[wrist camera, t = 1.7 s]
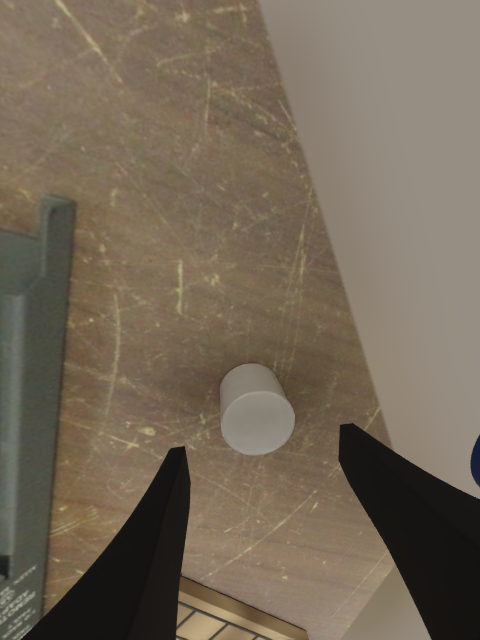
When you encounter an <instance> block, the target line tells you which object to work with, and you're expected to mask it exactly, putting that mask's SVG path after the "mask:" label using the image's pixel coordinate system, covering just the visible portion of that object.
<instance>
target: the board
mask: <svg viewBox="0 0 480 640" xmlns="http://www.w3.org/2000/svg"><path fill="white" fill-rule="evenodd" d="M176 640H309V639H308V635H307V632H306V631H304V630H302V629H300V628H297V627H295V626H293V625H291V624H288V623H286V622H284V621H281V620H279V619H277V618H275V617H272V616H270V615H268V614H266V613H263V612H261V611H259V610H256V609H254V608H252V607H250V606H247V605H245V604H243V603H241V602H238V601H236V600H234V599H232V598H229V597H227V596H225V595H222V594H220V593H218V592H216V591H213V590H211V589H209V588H207V587H204V586H202V585H200V584H197V583H195V582H193V581H191V580H188V579H186V578H184V577H182V576H180V585H179V598H178V614H177V631H176Z"/></svg>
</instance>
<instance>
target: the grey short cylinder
mask: <svg viewBox="0 0 480 640" xmlns="http://www.w3.org/2000/svg"><path fill="white" fill-rule="evenodd" d="M219 399H220V419H221V432H222V435H223V438H224V439H225V441H226V442H227V444H228V445H229V446H230V447H231V448H233V449H234V450H236V451H237V452H240V453H242V454H246V455H263V454H267V453H270V452H273V451H275V450H276V449H278V448H280V447H281V446H282V445H283V444H284V443H285V442H286V441H287V440H288V439H289V438H290V436H291V434H292V432H293V429H294V426H295V414H294V410H293V408H292V406H291V404H290V402H289V400H288V398H287V396H286V394H285V392H284V390H283V388H282V386H281V384H280V382H279V380H278V378H277V376H276V375H275V373H274V372H273V371H272V370H271V369H269V368H268V367H266V366H264V365H261V364H256V363H248V364H243V365H240V366H237V367H235V368H234V369H232V370H231V371H229V372H228V373H227V374H226V376H225V377H224V378H223V380H222V382H221V385H220V389H219Z"/></svg>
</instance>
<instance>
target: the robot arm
mask: <svg viewBox="0 0 480 640" xmlns="http://www.w3.org/2000/svg"><path fill="white" fill-rule="evenodd" d="M339 462H340V465H341V467H342V469H343V471H344V474H345V476H346V478H347V480H348V482H349V484H350V486H351V487H352V489H353V491H354V493H355V494H356V496H357V498H358V499H359V501H360V503H361V504H362V506H363V508H364V509H365V511H366V512H367V514H368V516H369V517H370V519H371V521H372V522H373V524H374V526H375V527H376V529H377V531H378V532H379V534H380V536H381V537H382V539H383V541H384V543H385V544H386V546H387V548H388V550H389V552H390V554H391V556H392V558H393V560H394V562H395V564H396V566H397V568H398V570H399V572H400V574H401V576H402V578H403V580H404V582H405V584H406V586H407V588H408V590H409V592H410V594H411V596H412V598H413V600H414V603H415V605H416V607H417V609H418V611H419V613H420V615H421V617H422V619H423V622H424V624H425V626H426V628H427V630H428V633H429V635H430V637H431V639H432V640H480V499H478V498H476V497H473V496H471V495H469V494H467V493H465V492H463V491H461V490H459V489H457V488H455V487H453V486H451V485H449V484H448V483H446V482H444V481H442V480H440V479H438V478H436V477H435V476H433V475H431V474H429V473H428V472H426V471H424V470H423V469H421V468H419V467H418V466H416V465H414V464H413V463H411V462H409V461H408V460H406V459H405V458H403V457H402V456H400V455H398V454H397V453H395V452H394V451H392V450H391V449H389V448H388V447H386V446H385V445H384V444H382V443H381V442H379V441H378V440H376V439H375V438H373V437H372V436H371V435H369V434H368V433H366V432H365V431H363V430H362V429H361V428H359V427H358V426H356V425H355V424H353V423H351V424H343V425H340V439H339ZM190 486H191V482H190V475H189V469H188V463H187V457H186V450H185V446H183V447H176V448H171V449H170V450H169V451H168V453H167V455H166V457H165V459H164V461H163V463H162V465H161V467H160V469H159V471H158V472H157V474H156V476H155V478H154V479H153V481H152V483H151V484H150V486H149V488H148V489H147V491H146V493H145V494H144V496H143V497H142V499H141V500H140V502H139V504H138V505H137V507H136V508H135V510H134V511H133V513H132V514H131V516H130V517H129V518H128V520H127V521H126V523H125V524H124V525H123V527H122V528H121V530H120V531H119V532H118V533H117V535H116V536H115V537H114V539H113V540H112V541H111V543H110V544H109V545H108V546H107V548H106V549H105V550H104V551H103V552H102V554H101V555H100V556H99V557H98V559H97V560H96V561H95V562H94V563H93V565H92V566H91V567H90V568H89V569H88V570H87V572H86V573H85V574H84V575H83V576H82V577H81V578H80V579H79V580H78V581H77V583H76V584H75V585H74V586H73V587H72V588H71V589H70V590H69V591H68V592H67V593H66V594H65V596H64V597H63V598H62V599H61V600H60V601H59V602H58V603H57V604H56V605H55V606H54V607H53V608H52V609H51V610H50V611H49V612H48V613H47V614H46V615H45V616H44V617H43V618H42V619H41V620H40V621H39V622H38V623H37V624H36V625H35V626H34V627H33V628H32V629H31V630H30V631H29V632H28V633H27V634H26V635H25V636H24V637H23V638H22V639H21V640H176V631H177V614H178V598H179V585H180V575H181V568H182V560H183V553H184V546H185V539H186V531H187V524H188V517H189V509H190Z"/></svg>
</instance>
